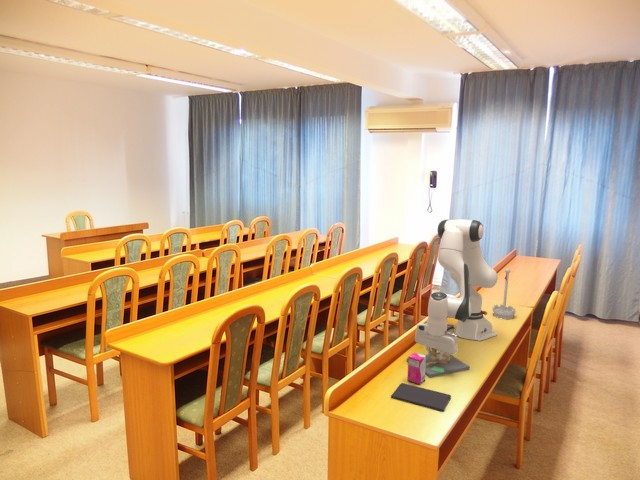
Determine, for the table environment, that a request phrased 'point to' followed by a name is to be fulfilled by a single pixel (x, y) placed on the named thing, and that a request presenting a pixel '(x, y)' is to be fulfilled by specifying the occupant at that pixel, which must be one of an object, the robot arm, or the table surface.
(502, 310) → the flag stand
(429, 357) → the flat gray board
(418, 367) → the supplement box
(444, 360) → the tan wooden handled piece
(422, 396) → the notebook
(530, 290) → the table surface
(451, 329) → the brown cream half-round block
